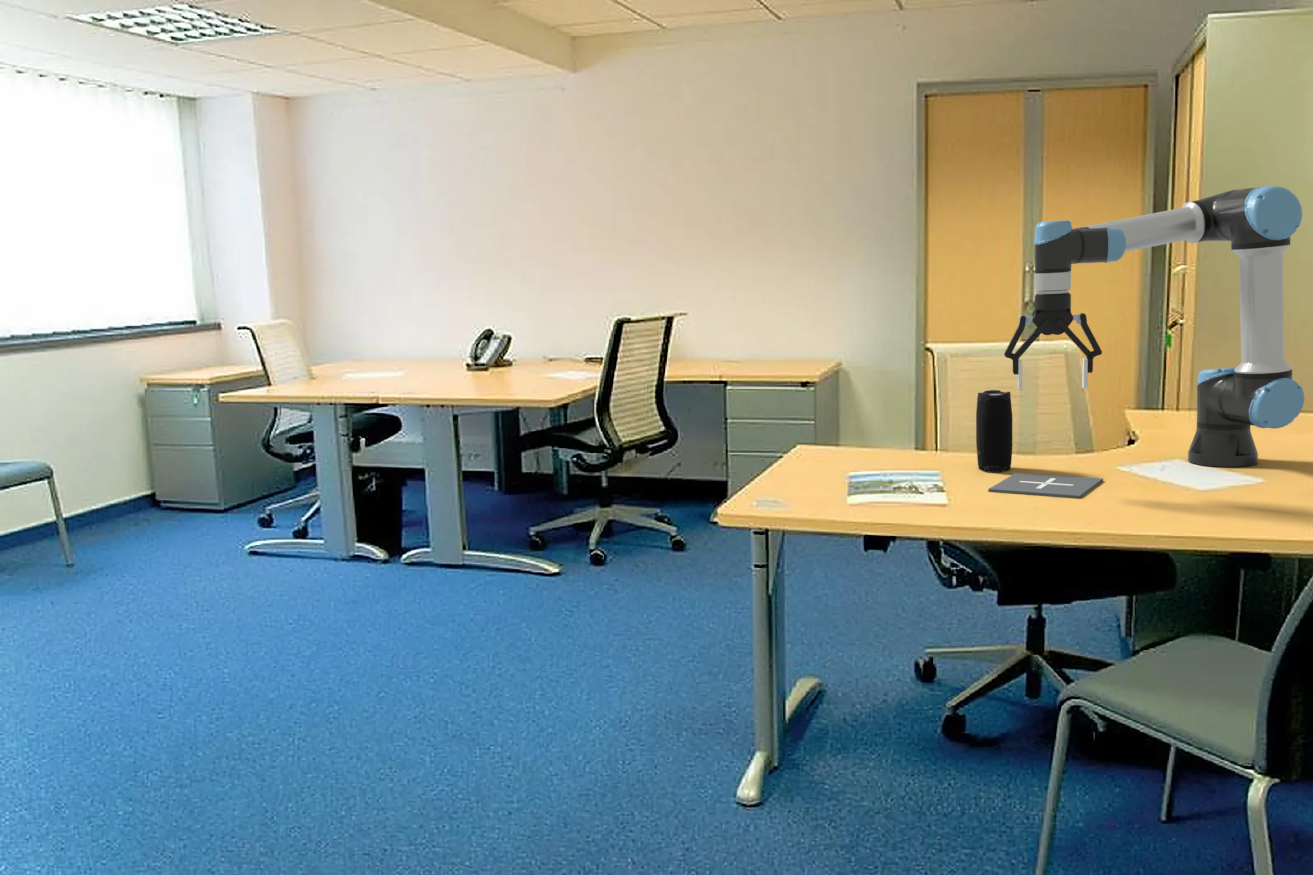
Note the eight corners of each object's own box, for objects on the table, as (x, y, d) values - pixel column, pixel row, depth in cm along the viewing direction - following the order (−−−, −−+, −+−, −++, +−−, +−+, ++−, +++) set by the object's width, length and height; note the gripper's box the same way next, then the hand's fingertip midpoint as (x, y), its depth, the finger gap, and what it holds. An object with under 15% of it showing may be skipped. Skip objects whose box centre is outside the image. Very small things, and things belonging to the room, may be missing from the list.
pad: (1103, 480, 251) (1103, 478, 251) (1079, 498, 235) (1079, 495, 235) (1016, 475, 263) (1016, 472, 263) (988, 491, 247) (988, 488, 247)
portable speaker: (978, 473, 267) (977, 394, 264) (975, 466, 277) (974, 390, 274) (1014, 472, 266) (1014, 393, 263) (1010, 465, 275) (1009, 388, 272)
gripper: (1111, 289, 239) (1110, 385, 242) (992, 294, 245) (993, 387, 249) (1116, 290, 232) (1114, 389, 235) (993, 295, 238) (994, 391, 242)
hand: (1052, 388), depth 242 cm, fingers open, 13 cm apart
